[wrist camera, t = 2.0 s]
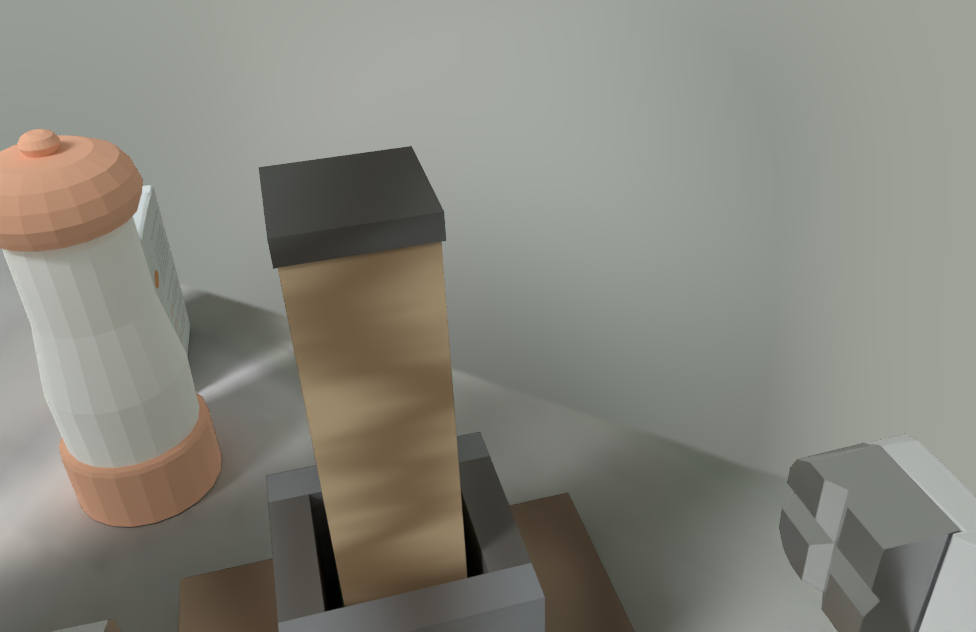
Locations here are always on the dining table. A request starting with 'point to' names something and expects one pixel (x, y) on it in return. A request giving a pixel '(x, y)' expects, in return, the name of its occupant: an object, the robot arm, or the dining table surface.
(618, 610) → the sleeve stand
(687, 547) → the dining table surface
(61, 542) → the dining table surface
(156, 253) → the small box
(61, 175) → the pepper shaker
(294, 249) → the oak post
